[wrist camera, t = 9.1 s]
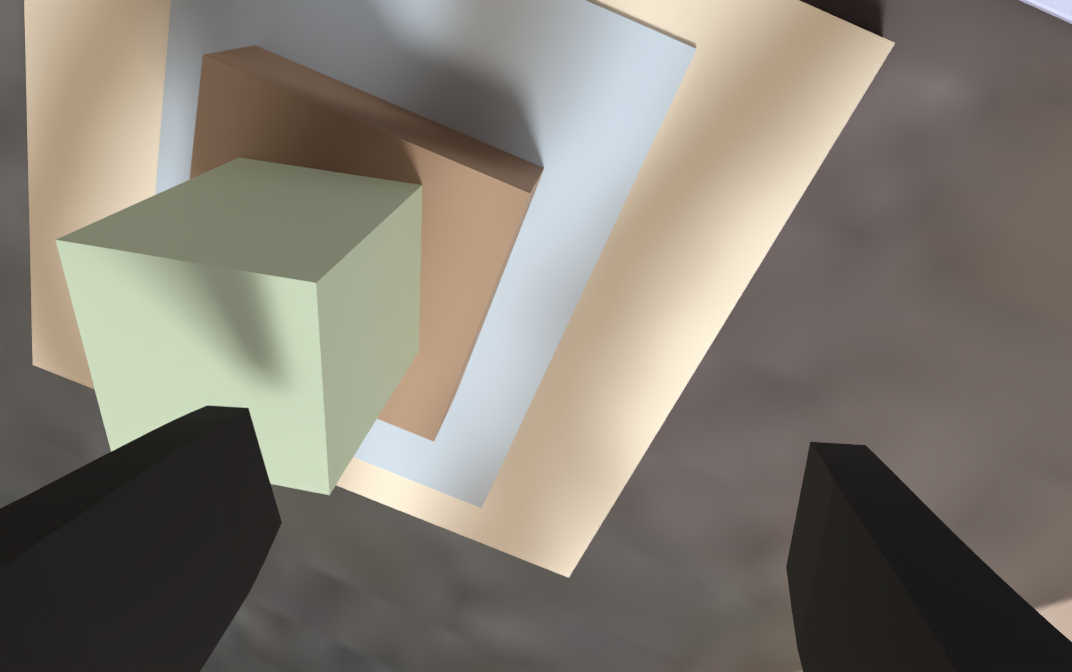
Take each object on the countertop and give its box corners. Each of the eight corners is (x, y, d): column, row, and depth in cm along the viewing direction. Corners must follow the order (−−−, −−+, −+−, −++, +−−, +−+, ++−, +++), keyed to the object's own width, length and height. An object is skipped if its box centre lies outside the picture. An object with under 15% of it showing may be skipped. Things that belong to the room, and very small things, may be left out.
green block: (422, 185, 14) (316, 282, 9) (419, 350, 16) (329, 494, 11) (239, 157, 14) (55, 239, 10) (258, 323, 16) (111, 453, 12)
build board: (882, 39, 14) (933, 54, 11) (571, 558, 22) (560, 633, 20) (49, -333, 13) (-94, -405, 11) (52, 352, 21) (-28, 402, 19)
